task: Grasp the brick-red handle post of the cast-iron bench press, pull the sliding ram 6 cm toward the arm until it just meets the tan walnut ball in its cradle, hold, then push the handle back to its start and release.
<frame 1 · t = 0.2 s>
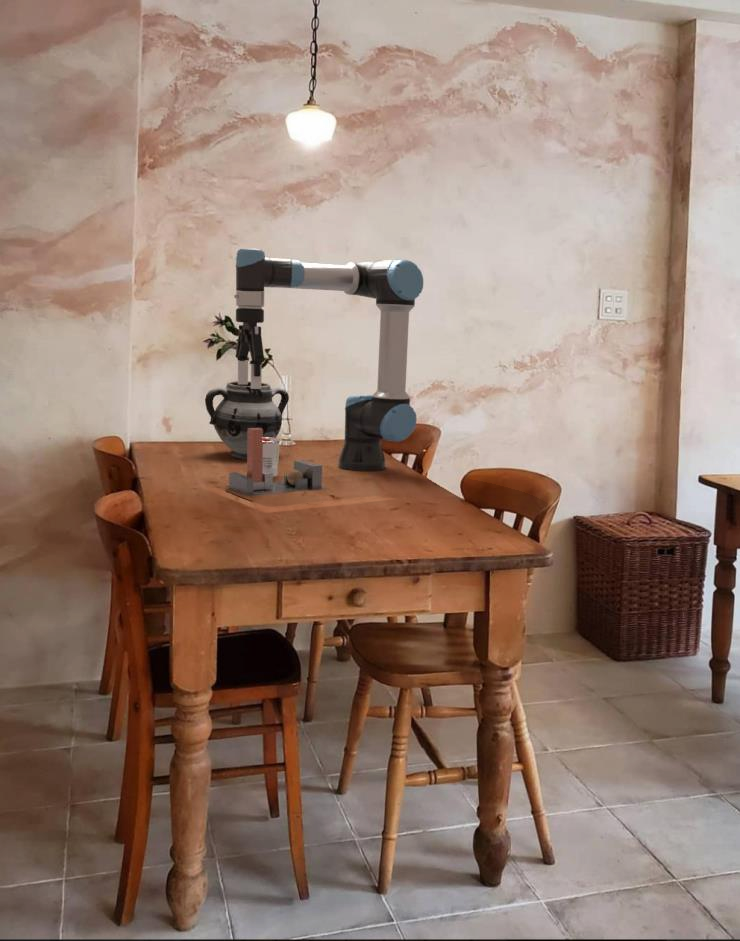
hand: (249, 386, 253), 28 cm above the table, fingers open, 13 cm apart
press base: (277, 492, 251), on the table
ceramic pot: (247, 457, 310), on the table
ram handle: (257, 458, 246), point 10 cm above the table, slide at 0.0 cm
walnut: (295, 485, 254), point 1 cm above the table, touching press base
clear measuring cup: (264, 480, 269), on the table
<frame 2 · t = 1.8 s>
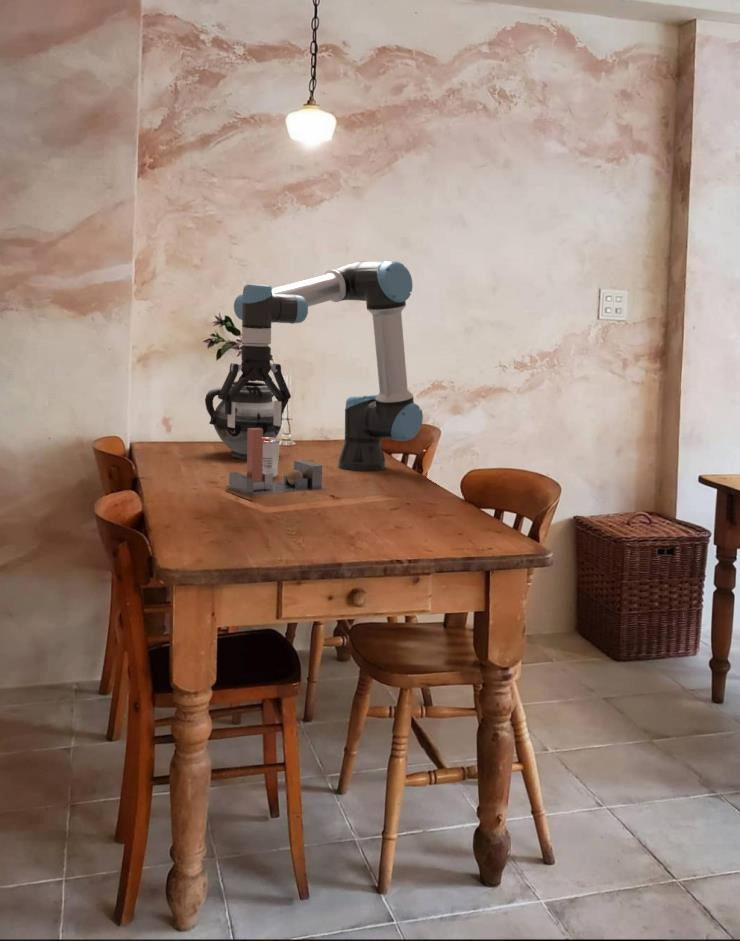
hand: (254, 426, 244), 18 cm above the table, fingers open, 13 cm apart
nothing on the table moved.
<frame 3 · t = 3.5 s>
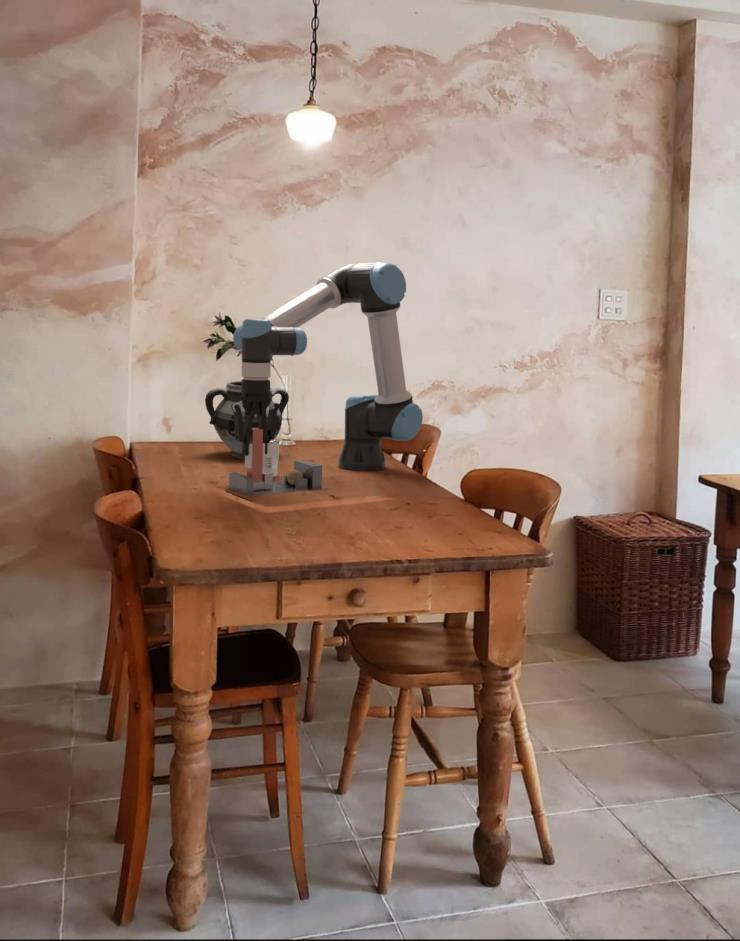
hand: (254, 467, 246), 8 cm above the table, fingers closed on ram handle, 3 cm apart
ram handle: (257, 458, 246), point 10 cm above the table, slide at 0.0 cm, touching gripper
everything else where it was.
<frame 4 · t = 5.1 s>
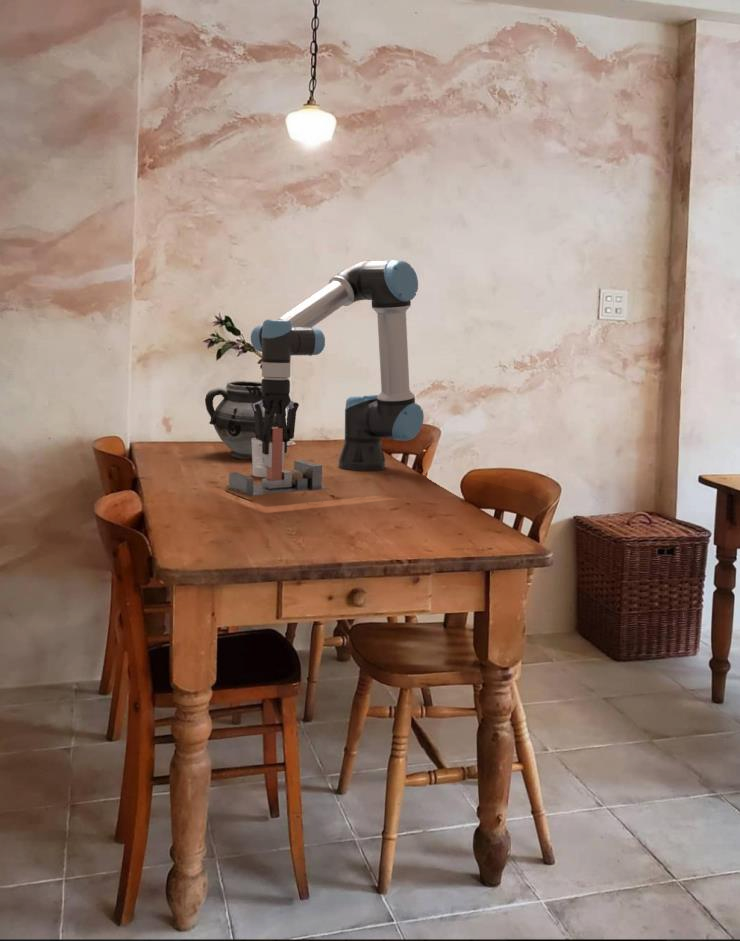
hand: (274, 465, 249), 8 cm above the table, fingers closed on ram handle, 3 cm apart
ram handle: (277, 457, 250), point 10 cm above the table, slide at 5.9 cm, touching gripper
everything else where it was.
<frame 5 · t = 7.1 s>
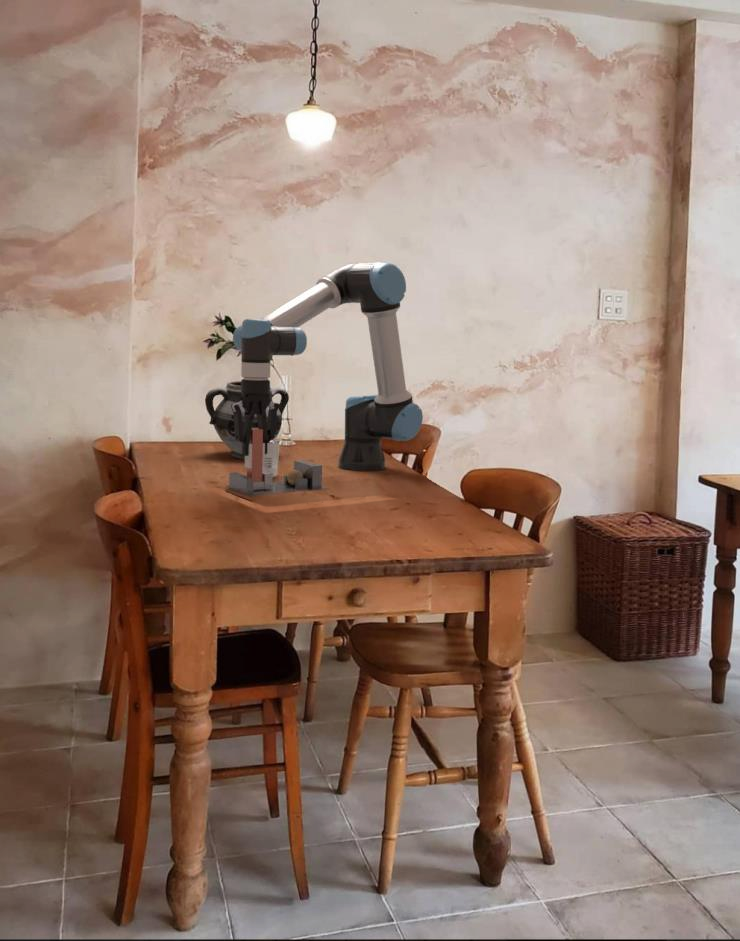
hand: (254, 467, 246), 8 cm above the table, fingers closed on ram handle, 3 cm apart
ram handle: (257, 458, 246), point 10 cm above the table, slide at 0.0 cm, touching gripper
everything else where it was.
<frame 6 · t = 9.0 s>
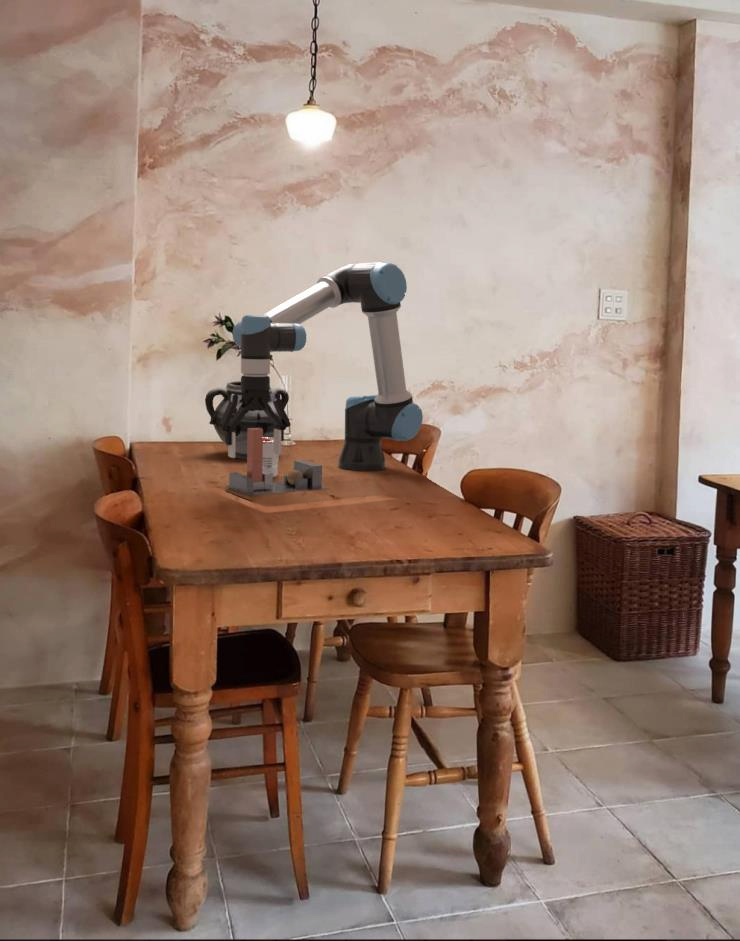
hand: (254, 455, 246), 11 cm above the table, fingers open, 13 cm apart
ram handle: (257, 458, 246), point 10 cm above the table, slide at 0.0 cm
everything else where it was.
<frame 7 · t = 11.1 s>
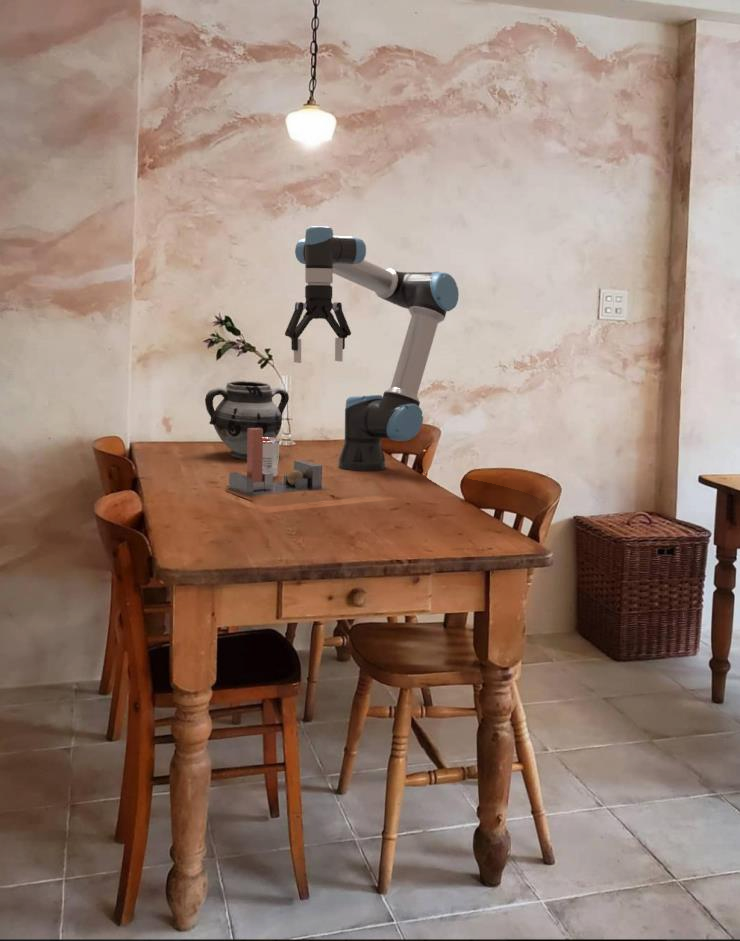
hand: (318, 362, 259), 35 cm above the table, fingers open, 13 cm apart
nothing on the table moved.
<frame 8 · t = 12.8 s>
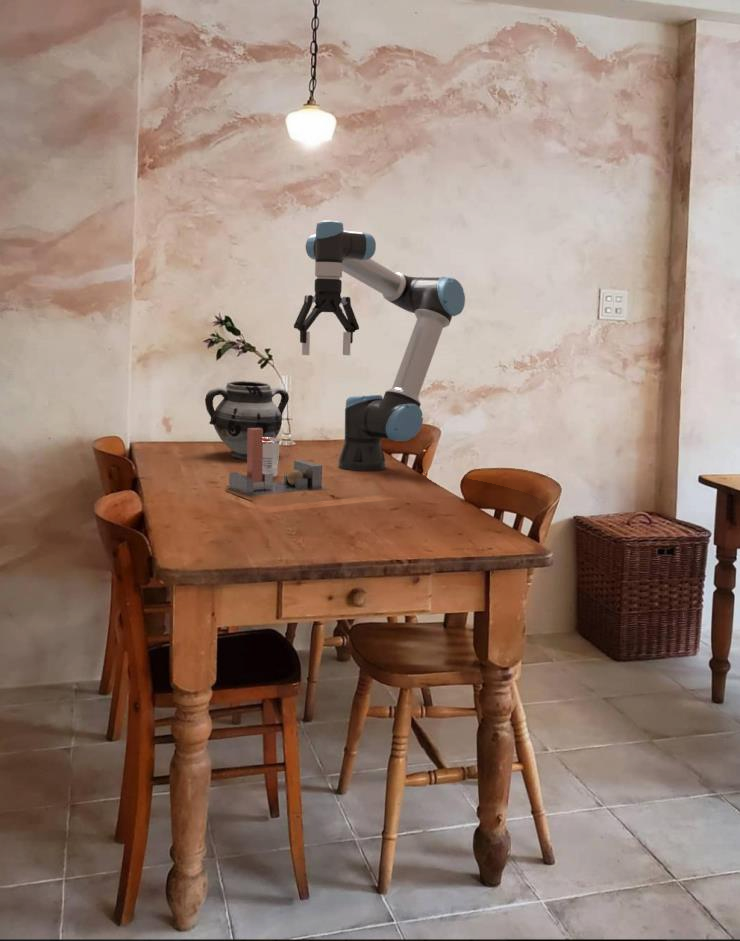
hand: (326, 355, 262), 37 cm above the table, fingers open, 13 cm apart
nothing on the table moved.
at the end: ram handle slide at 0.0 cm; walnut 0.2 cm from the target spot on the press base, point 1.5 cm above the press base's base; the gripper is holding nothing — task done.
